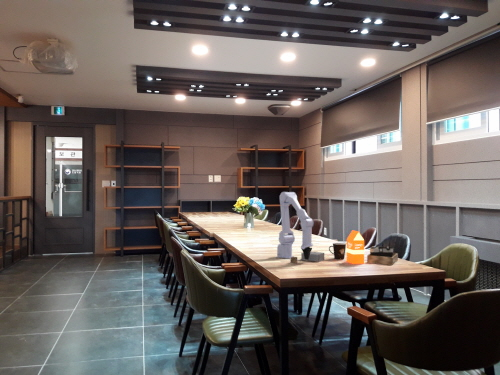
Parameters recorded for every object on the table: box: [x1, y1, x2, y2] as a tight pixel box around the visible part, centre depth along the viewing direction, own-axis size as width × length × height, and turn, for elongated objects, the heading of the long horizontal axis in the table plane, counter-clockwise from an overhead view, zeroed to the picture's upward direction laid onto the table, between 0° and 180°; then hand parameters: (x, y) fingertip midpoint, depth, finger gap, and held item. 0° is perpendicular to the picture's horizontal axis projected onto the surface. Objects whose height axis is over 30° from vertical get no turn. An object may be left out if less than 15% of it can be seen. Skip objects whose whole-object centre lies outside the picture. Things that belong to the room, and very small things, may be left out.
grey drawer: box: [301, 254, 319, 263], centre depth 246 cm, size 11×10×4 cm
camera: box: [369, 245, 394, 257], centre depth 243 cm, size 15×11×10 cm
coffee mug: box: [328, 242, 347, 261], centre depth 252 cm, size 12×9×10 cm
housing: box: [301, 251, 325, 263], centre depth 247 cm, size 12×10×4 cm
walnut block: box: [289, 256, 298, 264], centre depth 235 cm, size 3×3×4 cm
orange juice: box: [346, 229, 365, 265], centre depth 239 cm, size 8×9×20 cm
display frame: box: [366, 252, 399, 266], centre depth 244 cm, size 15×19×4 cm
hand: (306, 259), depth 237 cm, fingers closed
